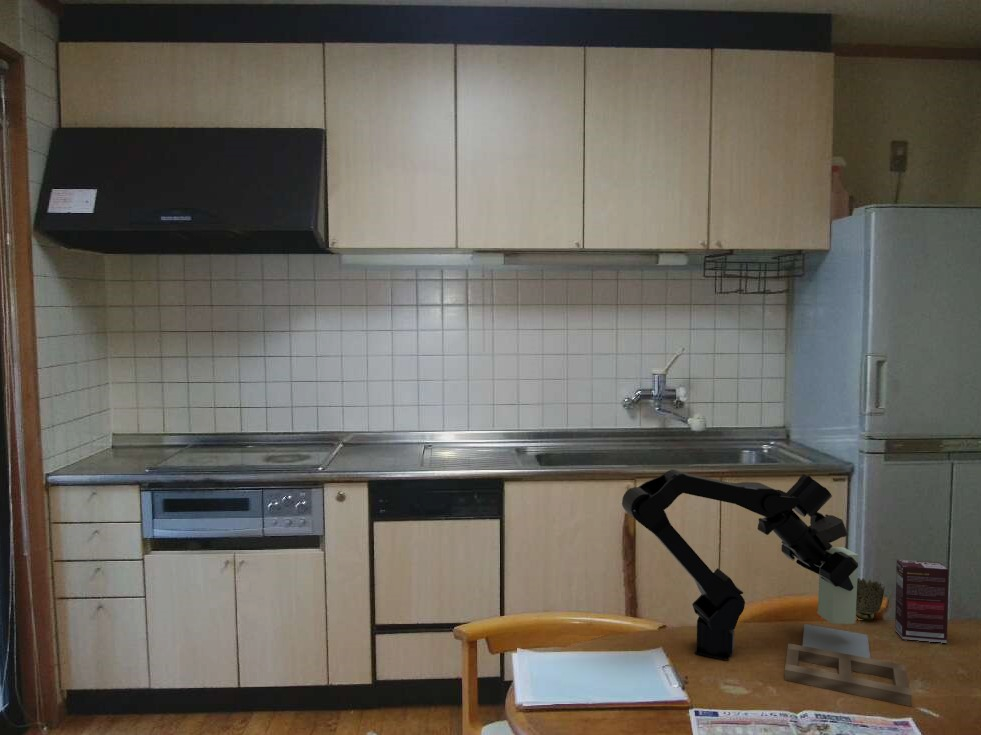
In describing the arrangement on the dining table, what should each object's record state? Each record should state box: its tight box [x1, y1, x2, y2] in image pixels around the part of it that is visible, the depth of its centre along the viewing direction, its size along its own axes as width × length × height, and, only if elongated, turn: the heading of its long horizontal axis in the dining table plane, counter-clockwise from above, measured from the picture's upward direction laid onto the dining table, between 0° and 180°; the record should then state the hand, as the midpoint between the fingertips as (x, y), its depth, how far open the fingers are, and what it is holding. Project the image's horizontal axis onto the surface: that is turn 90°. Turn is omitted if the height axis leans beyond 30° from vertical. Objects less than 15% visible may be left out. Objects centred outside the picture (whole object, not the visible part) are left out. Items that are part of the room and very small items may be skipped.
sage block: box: [817, 546, 859, 625], centre depth 141 cm, size 5×5×14 cm
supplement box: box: [894, 559, 950, 644], centre depth 145 cm, size 9×5×16 cm, turn 77°
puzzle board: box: [784, 642, 912, 707], centre depth 128 cm, size 20×12×2 cm, turn 64°
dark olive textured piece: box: [856, 577, 886, 622], centre depth 155 cm, size 8×7×8 cm
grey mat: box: [801, 623, 871, 659], centre depth 141 cm, size 12×12×1 cm
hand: (843, 584), depth 141 cm, fingers closed on sage block, 5 cm apart
